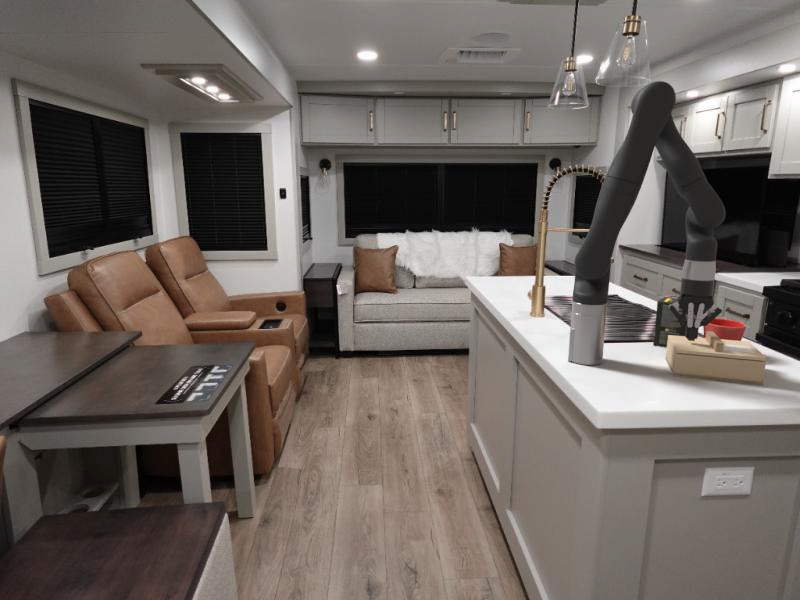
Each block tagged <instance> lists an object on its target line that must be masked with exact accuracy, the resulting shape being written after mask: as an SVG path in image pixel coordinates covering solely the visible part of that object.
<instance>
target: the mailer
mask: <svg viewBox="0 0 800 600" xmlns="http://www.w3.org/2000/svg"><path fill="white" fill-rule="evenodd" d="M665 351H666V352H665V361H666V362H667V365H668V367H669V369H670V371H671V374H672V375H673V376H674V377H681V378H683V377H684V378H691V379H692V378H693V379H702V380H710V381H711V380H712V381H722V382H730V383H731V382H733V383H740V384H748V385H758V386H764V385H763V384H764V379H765V371H766V366H767V361H760V360H749V359H738V358H728V357H717V356H706V355H695V354H684V353H676V352H675V350H674V348H673V346H672V344H671V343H670V341H669V339H668V341H667V347H666V350H665Z"/></svg>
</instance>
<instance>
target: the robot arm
mask: <svg viewBox="0 0 800 600" xmlns="http://www.w3.org/2000/svg"><path fill="white" fill-rule="evenodd" d="M676 97H677V96H676V91H675V89H674V87H673V86H672V85H671V84H670V83H668V82H666V81H664V80H663V81H661V80H657V81H653V82H650V83H648V84H646V85H645V86H643V87H642V88H640V89H639V90H638V91H637V92H636V93H635V94H634V96H633V98H632V100H631V105H630V109H631V114H632V118H631V119H630V124H629V126H628V130H627V132H626V133H627V134H626V136H625V137H624V140H623V142H622V143H621V146H620V147H619V149H618V150H617V152H616V154H615V156H614V158H613V159H612V162H611V163H610V165H609V168H608V170H607V172H606V174H605V177H604V180H603V182H602V185H601V188H600V191H599V195H598V198H597V201H596V205H595V209H594V212H593V217H592V221H591V224H590V228H589V230H588V231H587V233H586V234H587V235H586V236H585V238H584V241H583V243H582V244H581V246H580V248H579V250H578V251H577V253H576V255H575V257H574V263H573V265H574V268H575V271H574V273H575V274H574V284H573V290H572V304H571V305H572V306H571V318H570V330H569V341H568V342H569V343H568V344H569V345H568V355H567V356H568V357H567V362H571V361H572V363H575V364H579V365H586V366H595V365H600V364H602V362H603V359H604V358H603V357H604V346H605V335H606V334H605V332H606V324H607V323H606V322H607V311H608V310H607V308H608V299H609V289H610V278H611V264H612V256H613V254H614V250H615V246H616V243H617V239H618V238H619V234H620V232H621V230H622V228H623V226H624V224H625V222H626V221H627V219H628V217H629V215H630V214H631V212H632V209H633V207H634V205H635V203H636V201H637V199H638V196H639V193H640V191H641V188H642V186H643V184H644V181H645V177H646V174H647V172H648V170H649V166H650V163H651V160H652V156H653V153H654V151H655V150H657V152H658V154H659V156H660V158H661V160H662V162H663V164H664V167H665V170H666V171H667V173H668V176H669V177H670V180H671V182H672V184H673V186H674V188H675V191H676V192H677V194H678V195H679V196H680V197H681V198H683V199H684V200H685V202H687V204H688V209H687V210H686V214H685V221H684V223H685V234H686V236H685V237H686V248H685V249H686V250H685V256H684V257H685V258H684V262H683V267H682V272H681V283H680V291H679V296H677V297H678V299H677V302H675V303H673V304H669V305H668V307H669V309H670V310H671V311H672V313H673V314H674V315H675V317H676V318H677V319H678V321H679V322H680V323H681V324H682V325H685V326H686V330H685V337H686V338H687V340H688V341H695V339H697V338H698V336H699V329H700V328H701V327H703V326H707V325H708V324H709V323H710V322H711V321H712V320H714V319H717V317H718V316H719V315H720V314H721V313H722V312H723V310H722V309H721V308H720V307H719V306H717V305H715V301H714V298H713V296H714V288H715V287H714V286H715V279H716V278H715V277H716V272H717V271H716V268H717V267H716V266H717V265H716V263H717V260H716V259H717V254H718V253H717V252H718V240H717V239H716V238H715V237H714V228H717V227H719V226H721V225H722V224H723V222H724V221H725V219H726V208H725V205H724V203H723V201H722V199H721V198H720V196H719V195H718V193H717V192H716V191H715V189H714V188H713V186H711V184H710V183H709V182H708V180H707V177H706V174H705V173H704V172H705V171H703V169H702V166H701V164H700V162H699V160H698V158H697V157H696V155H695V153H694V152H693V150H692V149H691V148H690V146H689V145H688V144H687V142H686V141H685V140H684V138H683V137H682V135H681V134H680V131H679V130H678V129H677V126H676V124H675V121H674V119H673V118H674V117H673V115H672V113H673V111H674V108H675V105H676V101H677V99H676ZM655 148H656V149H655ZM679 305H680V306H681V308H682V309H683V311H684V312H685V313H686V320H684V319H683V318H682V317H681V315H680V314H679V313H678V310H679ZM708 311H709V312H708ZM707 312H708V314H706V313H707ZM693 314H694V320H693ZM704 314H706V315H705V317H703V315H704ZM692 325H693V326H692Z"/></svg>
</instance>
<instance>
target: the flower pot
mask: <svg viewBox="0 0 800 600" xmlns="http://www.w3.org/2000/svg"><path fill="white" fill-rule="evenodd" d="M702 328H703V338H706V333H707V331H712V332H714V333H715V334H716V335H717V336H718V337H719V339H723V340H735V341H742V339H743V336H744V334H745V331H746V328H747V325H746V324H745V323H743V322H741V321H738V320H737V321H736V320H732V319H725V318H715V319H714V320H712V321H711V322H710V323H709V324H708V325H707V326H702Z"/></svg>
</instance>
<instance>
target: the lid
mask: <svg viewBox="0 0 800 600" xmlns="http://www.w3.org/2000/svg"><path fill="white" fill-rule="evenodd" d="M668 339H669V341H670V343H671V344H672V346H673V348H674V350H675V352H676V353H684V354H695V355H706V356H717V357H728V358H738V359H749V360H760V361H765V362H767V360H768V359H767V356H765V354H763V353H762V352H761V351H760V350H759V349H758V348H757V347H755V345H753V344H752V343H751V342H750V341H746V340H741V341H735V340H723V339H719V337H718V336H717V335H716V334H715V333H714V332H712V331H707V333H706V338H704V337H698V338H697V339H695V341H688V340H687V338H686V337H685V336H674V335H668Z"/></svg>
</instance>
